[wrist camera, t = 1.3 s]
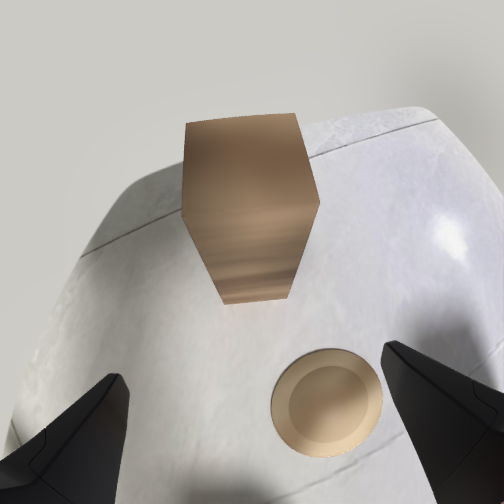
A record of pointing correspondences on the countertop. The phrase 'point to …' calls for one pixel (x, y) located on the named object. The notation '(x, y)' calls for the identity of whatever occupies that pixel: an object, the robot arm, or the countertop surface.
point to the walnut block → (249, 202)
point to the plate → (327, 403)
